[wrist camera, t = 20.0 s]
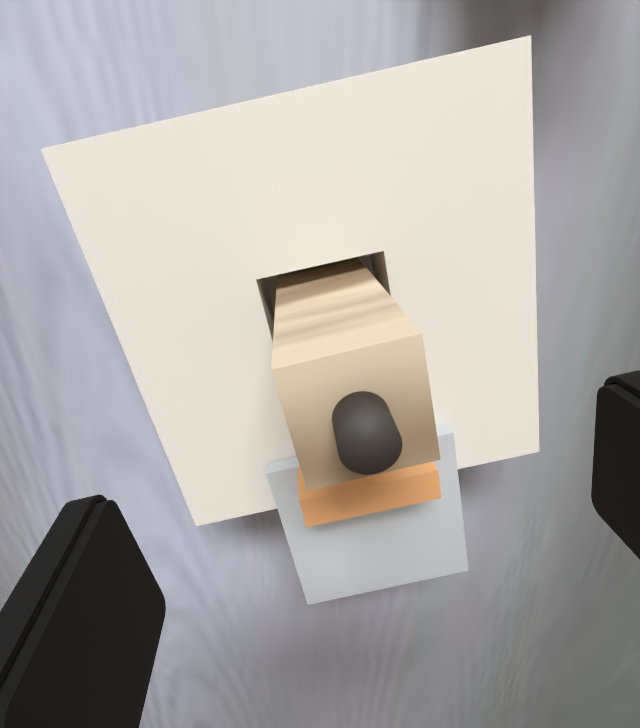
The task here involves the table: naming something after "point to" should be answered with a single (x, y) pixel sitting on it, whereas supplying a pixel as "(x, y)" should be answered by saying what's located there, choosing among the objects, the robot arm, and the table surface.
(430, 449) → the plug
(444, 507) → the grey tile with orange
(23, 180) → the table surface
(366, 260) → the socket
